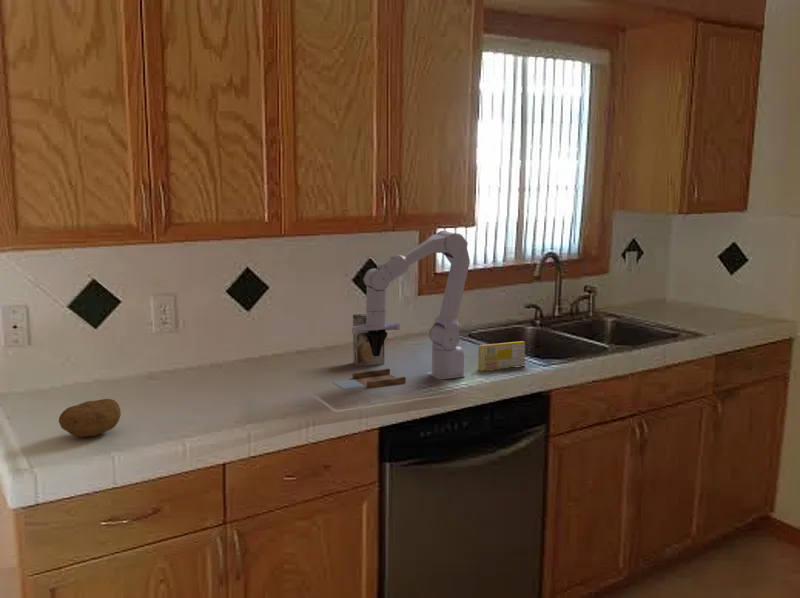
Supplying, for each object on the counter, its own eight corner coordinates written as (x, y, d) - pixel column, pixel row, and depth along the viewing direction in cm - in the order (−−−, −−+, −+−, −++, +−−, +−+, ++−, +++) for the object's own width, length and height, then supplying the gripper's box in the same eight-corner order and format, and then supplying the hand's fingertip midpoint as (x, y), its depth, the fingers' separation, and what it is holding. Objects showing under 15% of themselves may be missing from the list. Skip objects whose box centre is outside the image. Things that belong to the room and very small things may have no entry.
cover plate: (354, 383, 231) (354, 379, 231) (365, 390, 225) (365, 386, 224) (332, 385, 228) (332, 382, 228) (343, 393, 221) (343, 389, 221)
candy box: (521, 365, 253) (522, 340, 251) (525, 367, 251) (526, 342, 249) (477, 369, 247) (478, 344, 245) (480, 371, 245) (481, 345, 243)
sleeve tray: (388, 375, 238) (388, 368, 238) (405, 384, 229) (405, 377, 228) (352, 379, 233) (352, 372, 232) (368, 389, 223) (368, 382, 223)
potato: (53, 436, 182) (51, 403, 181) (112, 423, 192) (110, 392, 190) (68, 448, 175) (66, 414, 174) (129, 434, 185) (127, 401, 183)
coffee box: (379, 361, 255) (380, 313, 252) (384, 366, 249) (385, 316, 246) (352, 362, 253) (352, 314, 250) (356, 367, 247) (356, 318, 244)
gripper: (392, 305, 233) (391, 350, 236) (347, 309, 227) (347, 355, 229) (403, 310, 227) (402, 355, 229) (357, 314, 220) (357, 360, 223)
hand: (375, 355), depth 229 cm, fingers closed
